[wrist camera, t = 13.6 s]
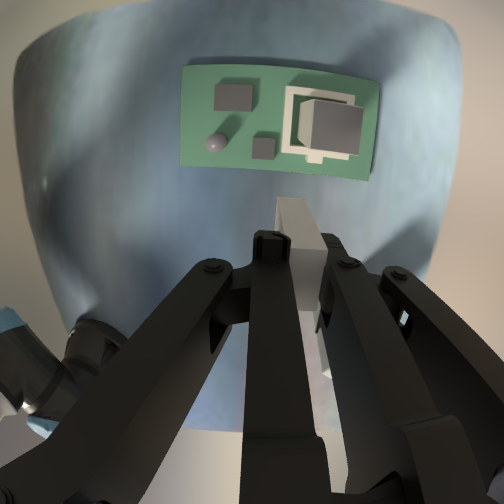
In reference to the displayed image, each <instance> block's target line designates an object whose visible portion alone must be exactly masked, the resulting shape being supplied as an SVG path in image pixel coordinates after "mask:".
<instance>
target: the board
mask: <svg viewBox="0 0 504 504" xmlns="http://www.w3.org/2000/svg"><path fill="white" fill-rule="evenodd" d="M379 87H380V83H379V82H375V81H371V80H366V79H362V78H357V77H352V76H347V75H341V74H336V73H330V72H323V71H316V70H309V69H301V68H291V67H280V66H267V65H245V64H207V65H186V66H182V82H181V108H180V166H202V167H228V168H247V169H262V170H275V171H287V172H297V173H307V174H316V175H325V176H333V177H341V178H349V179H356V180H363V181H368V180H369V174H370V167H371V160H372V153H373V146H374V138H375V130H376V121H377V111H378V100H379ZM311 99H317V100H324V101H331V102H337V103H343V104H349V105H354V106H359V107H363V108H364V111H363V121H362V130H361V139H360V147H359V155H358V156H355V155H349V154H342V153H335V152H328V151H320V150H311V149H308V148H307V147H306V146H305V145H304V144H303V143H302V142H301V141H300V140H299V139H298V138H297V133H298V121H299V109H300V103H302V102H305V101H308V100H311Z"/></svg>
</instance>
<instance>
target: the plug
mask: <svg viewBox="0 0 504 504" xmlns="http://www.w3.org/2000/svg"><path fill="white" fill-rule="evenodd" d="M363 111H364V108H363V107H359V106H354V105H349V104H343V103H337V102H331V101H324V100H317V99H311V100H308V101H305V102H302V103H300V109H299V121H298V133H297V138H298V139H299V140H300V141H301V142H302V143H303V144H304V145H305V146H306V147H307V148H308V149H311V150H320V151H328V152H335V153H342V154H349V155H355V156H358V155H359V147H360V139H361V130H362V121H363Z"/></svg>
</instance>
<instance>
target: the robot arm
mask: <svg viewBox="0 0 504 504" xmlns="http://www.w3.org/2000/svg"><path fill="white" fill-rule="evenodd" d="M318 301H319V302H320V306H321V308H320V312H319V317H318V321H317V326H316V331H315V333H318V331H319V329H320V328H321V331H322V335H323V340H324V344H325V348H326V353H327V358H328V362H329V367H330V372H331V376H332V381H333V386H334V391H335V396H336V401H337V406H338V411H339V417H340V422H341V428H342V433H343V438H344V445H345V451H346V456H347V463H348V477H347V481H346V487H345V494H344V493H332V492H331V484H330V476H329V468H328V460H327V452H326V448H325V443H324V441H323V439H322V437H319V436H317V434H316V432H315V427H314V419H313V411H312V404H311V396H310V389H309V381H308V374H307V367H306V361H305V354H304V347H303V341H302V334H301V328H300V322H299V316H298V311H317V306H318ZM404 310H405V311H406V313H407V314H408V315H409V316H408V319H407V321H406V323H405V325H403V324H402V323H401V322H400V319H401V317H402V314H403V312H404ZM243 322H249V334H248V352H247V370H246V389H245V407H244V425H243V442H242V459H241V460H242V461H241V477H240V495H239V504H504V362H503V361H502V360H501V359H500V357H498V355H497V354H496V353H495V352H494V351H493V350H492V349H491V348H490V347H489V346H488V345H487V344H486V343H485V342H484V340H483V339H482V338H481V337H480V336H479V335H478V334H477V333H476V332H475V331H474V330H473V329H471V327H469V325H468V324H467V323H466V322H465V321H464V320H462V318H460V317H459V316H458V315H457V314H456V313H455V312H454V311H453V310H452V309H451V308H450V307H449V306H448V305H447V304H445V302H444V301H443V300H441V299H440V298H439V297H438V296H437V295H436V294H435V293H434V292H433V291H431V290H430V289H429V288H428V287H427V286H426V285H425V284H424V283H423V282H421V281H420V280H419V279H418V278H417V277H416V276H415V275H413V274H412V273H411V272H409V271H408V270H406V269H404V268H403V267H400V266H399V267H398V266H389V267H386V268H385V269H384V270H383V273H382V276H380V275H375V274H371V273H368V272H367V270H366V269H365V267H364V265H363V264H362V263H361V262H360V261H359V260H357V259H355V258H352V257H349V255H348V254H347V252H346V250H345V248H344V247H343V245H342V243H341V241H340V240H339V238H338V237H336V236H335V235H333V234H328V233H320V231H319V229H318V227H317V225H316V223H315V221H314V219H313V217H312V215H311V213H310V210H309V208H308V206H307V204H306V202H305V200H304V199H300V198H286V197H277V207H276V220H275V231H265V230H258V231H257V232H256V233H255V234H254V240H253V260H252V262H251V263H250V264H249V265H247V266H245V267H242V268H237V269H233V267H232V265H231V263H229V262H228V261H226V260H222V259H216V258H211V259H210V258H209V259H205V260H202V261H200V262H198V263H197V264H196V265H195V266H194V267H193V268H192V269H191V270H190V271H189V272H188V273H187V274H186V275H185V277H184V278H183V279H182V280H181V281H180V282H179V283H178V284H177V285H176V286H175V288H174V289H173V290H172V291H171V292H170V293H169V294H168V295H167V296H166V298H165V299H164V300H163V301H162V302H161V303H160V304H159V305H158V307H157V308H156V309H155V310H154V311H153V312H152V313H151V314H150V316H149V317H148V318H147V319H146V320H145V321H144V322H143V323H142V325H141V326H140V327H139V328H138V329H137V330H136V331H135V333H134V334H133V335H132V336H131V337H130V338H129V340H127V339H126V338H125V337H124V336H123V335H121V334H120V333H119V332H118V331H116V330H115V329H113V328H112V327H110V326H108V325H106V324H104V323H101V322H99V321H95V320H81V321H79V322H77V323H76V324H75V326H74V327H73V328H72V330H71V331H70V333H69V337H68V341H67V345H66V350H65V354H64V358H63V360H62V361H61V362H60V361H59V360H58V359H57V358H56V357H55V356H54V355H53V353H51V351H50V350H49V349H48V348H47V347H46V346H45V345H44V344H43V343H42V341H40V339H39V338H38V337H37V336H36V335H35V333H34V332H33V331H32V330H31V329H30V327H29V326H28V324H27V323H26V322H24V321H23V320H22V318H21V317H20V316H19V315H18V314H17V313H16V312H15V310H14V309H12V308H10V307H3V308H1V309H0V421H1V420H2V418H3V416H5V415H16V414H17V412H18V410H19V409H20V408H22V409H23V410H24V411H25V412H26V413H27V414H28V415H29V416H27V424H28V426H29V427H31V428H32V429H33V430H34V431H35V432H36V433H38V434H39V435H41V436H42V437H44V438H46V440H45V441H44V442H42V443H41V444H39V445H38V446H36V447H34V448H33V449H31V450H30V451H28V452H26V453H25V454H23V455H21V456H20V457H18V458H16V459H15V460H13V461H11V462H10V463H8V464H6V465H5V466H3V467H1V468H0V504H138V503H139V501H140V500H141V498H142V497H143V495H144V494H145V492H146V490H147V488H148V486H149V485H150V483H151V481H152V479H153V478H154V476H155V474H156V472H157V470H158V468H159V467H160V465H161V462H162V461H163V459H164V457H165V455H166V454H167V452H168V450H169V448H170V446H171V444H172V443H173V441H174V439H175V437H176V435H177V433H178V431H179V429H180V428H181V426H182V424H183V422H184V420H185V418H186V416H187V415H188V413H189V411H190V409H191V407H192V405H193V403H194V401H195V399H196V397H197V396H198V394H199V392H200V390H201V388H202V386H203V384H204V382H205V380H206V378H207V376H208V375H209V373H210V371H211V369H212V367H213V365H214V363H215V361H216V359H217V357H218V355H219V353H220V351H221V349H222V347H223V345H224V344H225V342H226V340H227V338H228V336H229V334H230V332H231V329H232V324H238V323H243Z"/></svg>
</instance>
